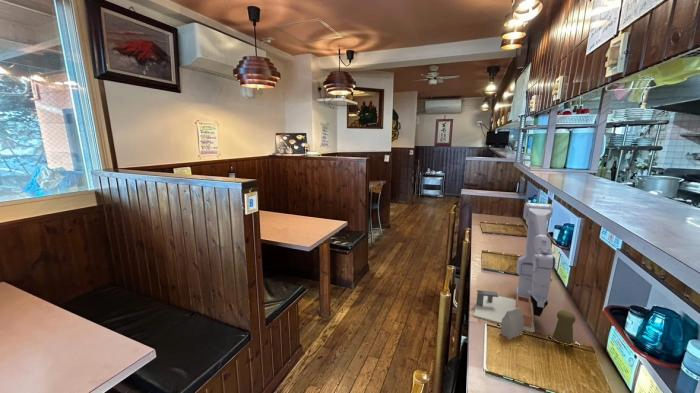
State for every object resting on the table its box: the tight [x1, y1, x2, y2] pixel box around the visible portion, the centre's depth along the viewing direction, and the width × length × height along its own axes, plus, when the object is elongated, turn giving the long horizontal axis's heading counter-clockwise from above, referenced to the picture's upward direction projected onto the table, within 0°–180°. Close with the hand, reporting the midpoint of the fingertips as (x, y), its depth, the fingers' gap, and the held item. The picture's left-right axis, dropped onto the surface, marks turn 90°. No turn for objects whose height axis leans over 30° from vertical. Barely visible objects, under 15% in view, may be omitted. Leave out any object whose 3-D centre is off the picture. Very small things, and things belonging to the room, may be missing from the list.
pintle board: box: [473, 289, 535, 333], centre depth 120 cm, size 22×21×6 cm
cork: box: [552, 310, 576, 344], centre depth 101 cm, size 6×6×11 cm
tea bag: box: [500, 307, 524, 340], centre depth 104 cm, size 4×7×10 cm, turn 113°
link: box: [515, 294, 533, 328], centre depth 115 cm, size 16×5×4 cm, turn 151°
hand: (536, 315), depth 113 cm, fingers closed
